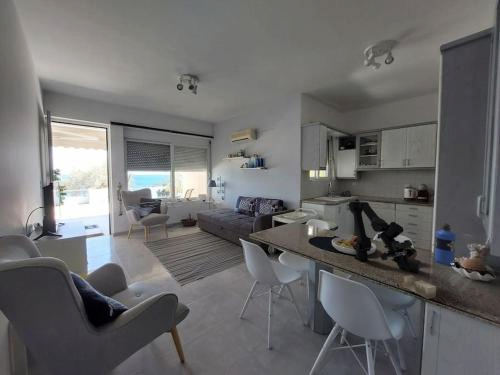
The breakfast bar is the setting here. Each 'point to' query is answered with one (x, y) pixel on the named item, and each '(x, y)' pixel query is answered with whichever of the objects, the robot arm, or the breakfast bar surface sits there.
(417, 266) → the end cap
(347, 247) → the bowl
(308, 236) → the breakfast bar surface
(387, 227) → the robot arm
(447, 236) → the water bottle
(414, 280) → the beech block
